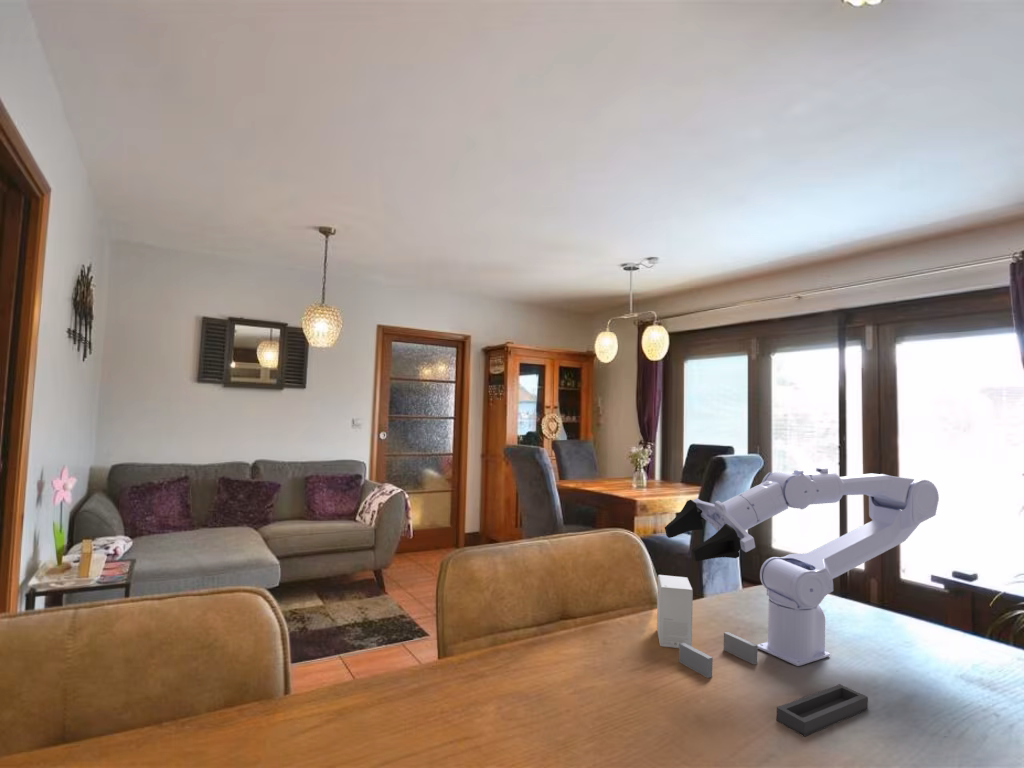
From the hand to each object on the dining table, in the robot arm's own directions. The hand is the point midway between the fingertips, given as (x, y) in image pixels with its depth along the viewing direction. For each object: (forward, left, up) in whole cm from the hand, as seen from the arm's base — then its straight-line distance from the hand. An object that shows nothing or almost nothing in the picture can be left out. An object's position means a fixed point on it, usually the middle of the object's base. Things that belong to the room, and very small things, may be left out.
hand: (679, 543), depth 92 cm
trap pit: (-7, +21, -19) cm, 29 cm away
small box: (-6, -7, -20) cm, 22 cm away
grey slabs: (-6, +3, -19) cm, 21 cm away
